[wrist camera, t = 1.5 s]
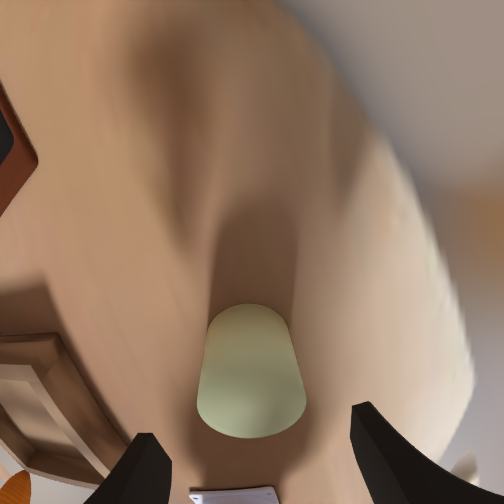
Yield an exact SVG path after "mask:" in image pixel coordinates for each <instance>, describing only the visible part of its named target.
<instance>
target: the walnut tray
mask: <svg viewBox="0 0 504 504" xmlns="http://www.w3.org/2000/svg"><path fill="white" fill-rule="evenodd" d="M0 444H1V445H2V446H3V447H4V449H5V450H6V451H7V452H8V453H9V454H10V455H11V456H12V457H13V458H14V459H15V460H16V461H17V462H18V463H19V464H20V465H21V466H22V467H23V468H24V469H25V470H26V471H27V472H29V473H33V474H35V475H38V476H42V477H45V478H48V479H52V480H55V481H59V482H63V483H67V484H71V485H75V486H80V487H84V488H89V489H94V490H96V489H97V488H98V487H99V486H100V484H101V483H102V482H103V481H104V480H105V478H106V477H107V476H108V474H109V473H110V472H111V470H112V469H113V468H114V466H115V465H116V464H117V462H118V461H119V459H120V458H121V457H122V455H123V454H124V452H125V451H126V449H127V448H128V446H127V445H126V444H125V443H124V441H123V440H122V439H121V437H120V436H119V434H118V433H117V432H116V430H115V429H114V428H113V426H112V425H111V423H110V422H109V420H108V419H107V417H106V416H105V414H104V413H103V411H102V410H101V408H100V407H99V405H98V404H97V402H96V401H95V399H94V398H93V396H92V394H91V393H90V391H89V389H88V388H87V386H86V384H85V383H84V381H83V379H82V378H81V376H80V374H79V372H78V371H77V369H76V367H75V365H74V363H73V362H72V360H71V358H70V356H69V354H68V352H67V350H66V348H65V346H64V344H63V342H62V340H61V338H60V336H59V334H58V332H56V333H44V334H30V335H15V336H0Z"/></svg>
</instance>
